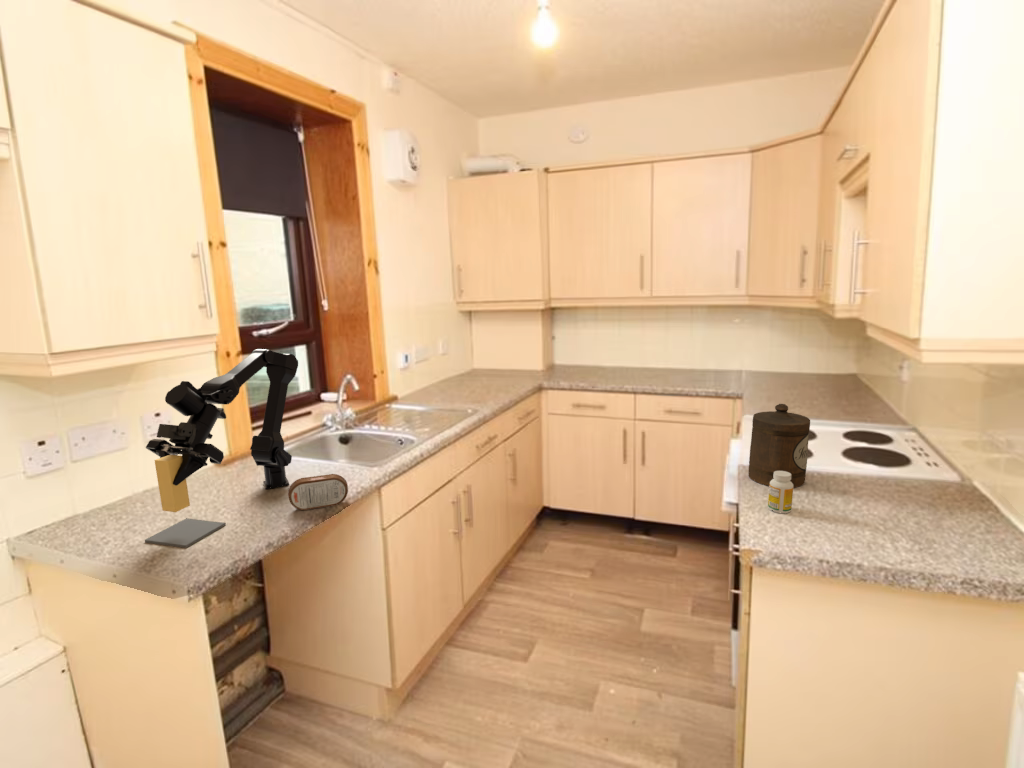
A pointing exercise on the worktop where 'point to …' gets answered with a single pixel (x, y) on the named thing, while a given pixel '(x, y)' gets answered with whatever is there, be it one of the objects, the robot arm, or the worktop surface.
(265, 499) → the worktop surface
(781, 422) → the wooden container
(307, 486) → the tin
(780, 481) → the supplement bottle
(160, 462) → the ochre post
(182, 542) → the charcoal mat
